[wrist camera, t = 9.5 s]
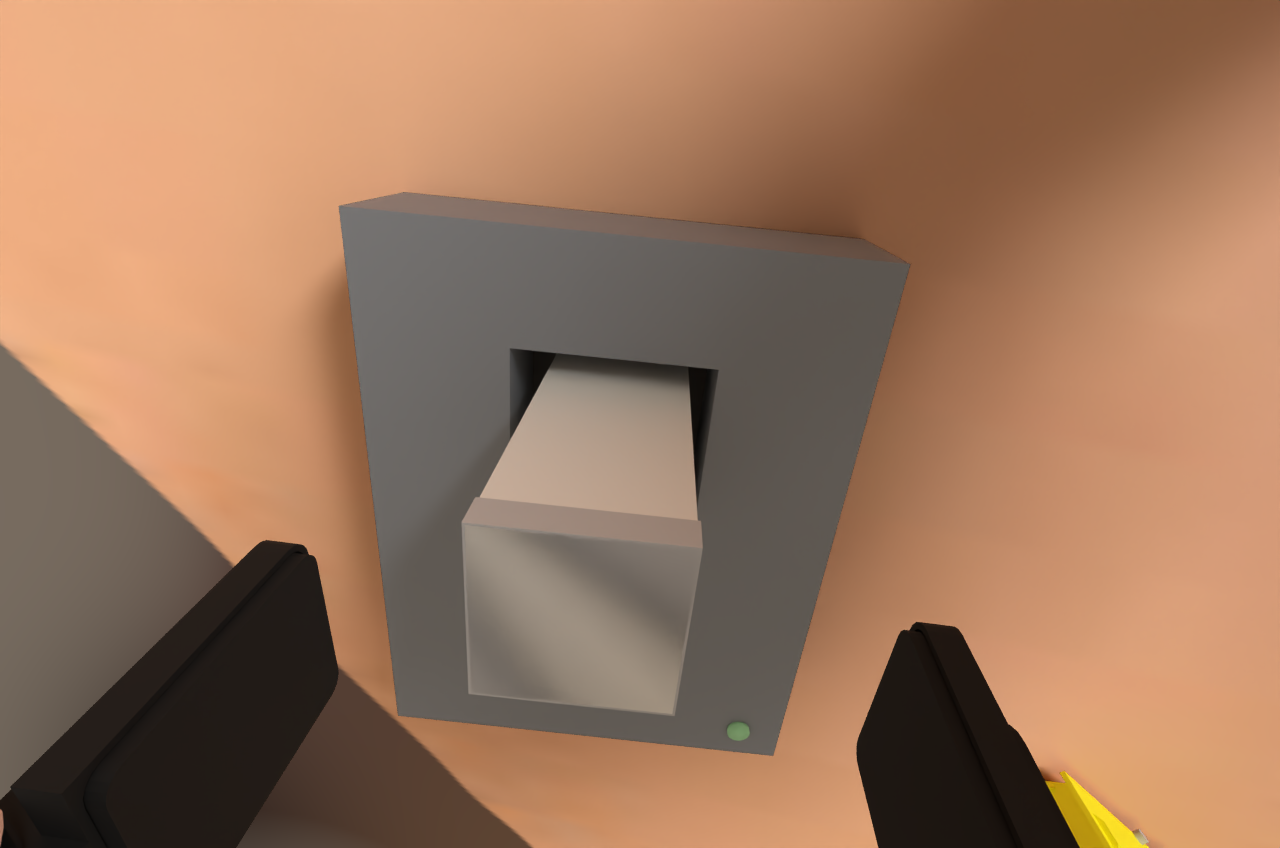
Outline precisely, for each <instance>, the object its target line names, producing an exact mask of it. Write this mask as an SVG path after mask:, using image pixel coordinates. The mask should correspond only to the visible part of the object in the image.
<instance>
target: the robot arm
mask: <svg viewBox="0 0 1280 848" xmlns="http://www.w3.org/2000/svg"><path fill="white" fill-rule="evenodd" d="M337 680H338V666H337V661H336V656H335V651H334V646H333V641H332V636H331V631H330V626H329V621H328V616H327V611H326V605H325V600H324V595H323V590H322V585H321V580H320V575H319V570H318V565H317V561H316V558H315V557H314V556H312V555H309V554H308V551H307V549H306V548H305V547H304V546H303V545H300V544H293V543H285V542H277V541H269V540H266V541H262V542H260V543H259V544H258V545H256V546H255V547H254V548H253V549H252V550H251V551H250V552H249V553H248V554H247V555H246V556H245V557H244V558H243V559H242V560H241V561H240V562H239V563H238V564H237V565H236V566H235V567H234V568H233V569H232V570H231V571H230V572H229V573H228V574H227V575H226V576H225V577H224V578H223V579H221V580H220V581H219V583H217V584H216V586H214V587H213V588H212V589H211V590H210V591H209V592H208V593H207V594H206V595H205V596H204V597H203V598H202V599H201V600H200V601H199V602H198V603H197V604H196V605H195V606H194V607H193V608H192V609H191V610H190V611H189V612H188V613H187V614H186V615H185V616H184V617H183V618H182V619H181V620H180V621H179V622H178V623H177V624H176V625H175V626H174V627H173V628H172V629H171V630H170V631H169V632H168V633H166V634H165V636H164V637H162V638H161V640H159V641H158V642H157V643H156V644H155V645H154V646H153V647H152V648H151V649H150V650H149V651H148V652H147V653H146V654H145V655H144V656H143V657H142V658H141V659H140V660H139V661H138V662H137V663H136V664H135V665H134V666H133V667H132V668H131V669H130V670H129V671H128V672H127V673H126V674H125V675H124V676H123V677H122V678H121V679H120V680H119V681H118V682H117V683H116V684H115V685H114V686H113V687H112V688H110V689H109V690H108V691H107V692H106V693H105V694H104V695H103V696H102V697H101V698H100V699H99V700H98V701H97V702H96V703H95V704H94V705H93V706H92V707H91V708H90V709H89V710H88V711H87V712H86V713H85V714H84V715H83V716H82V717H81V718H80V719H79V720H78V721H77V722H76V723H75V724H74V725H73V726H72V727H71V728H70V729H69V730H68V731H67V732H66V733H65V734H64V735H63V736H62V737H61V738H60V739H59V740H57V741H56V742H55V743H54V744H53V746H51V747H50V748H49V749H48V750H47V751H46V752H45V753H44V754H43V755H42V756H41V757H40V758H39V759H38V760H37V761H36V762H35V763H34V764H33V765H32V766H31V767H30V768H29V769H28V770H27V771H26V772H25V773H24V774H23V775H22V776H21V777H20V778H19V779H18V780H17V781H16V782H15V783H14V784H13V785H12V786H11V790H10V791H9V792H8V793H7V794H6V795H5V796H4V797H3V798H2V799H1V800H0V848H236V847H237V846H238V844H239V842H240V841H241V839H242V838H243V836H244V834H245V833H246V831H247V830H248V828H249V826H250V825H251V823H252V822H253V820H254V818H255V817H256V815H257V814H258V812H259V810H260V809H261V807H262V806H263V804H264V802H265V801H266V799H267V798H268V796H269V794H270V793H271V791H272V790H273V788H274V786H275V785H276V783H277V782H278V780H279V778H280V777H281V775H282V774H283V772H284V770H285V769H286V767H287V766H288V764H289V763H290V761H291V759H292V758H293V756H294V754H295V753H296V751H297V750H298V748H299V746H300V745H301V743H302V742H303V740H304V739H305V737H306V735H307V734H308V732H309V730H310V729H311V727H312V726H313V724H314V723H315V721H316V719H317V718H318V716H319V715H320V713H321V711H322V710H323V708H324V707H325V705H326V703H327V702H328V700H329V699H330V697H331V695H332V694H333V692H334V690H335V687H336V684H337ZM857 762H858V767H859V771H860V775H861V779H862V783H863V787H864V791H865V795H866V799H867V803H868V807H869V811H870V815H871V819H872V824H873V828H874V832H875V836H876V840H877V844H878V848H1080V847H1079V845H1078V843H1077V841H1076V839H1075V837H1074V835H1073V834H1072V832H1071V830H1070V828H1069V826H1068V824H1067V822H1066V820H1065V818H1064V816H1063V814H1062V813H1061V811H1060V809H1059V807H1058V805H1057V803H1056V801H1055V799H1054V797H1053V795H1052V793H1051V792H1050V790H1049V788H1048V786H1047V784H1046V782H1045V780H1044V778H1043V776H1042V774H1041V772H1040V770H1039V769H1038V767H1037V765H1036V763H1035V761H1034V759H1033V757H1032V755H1031V753H1030V751H1029V749H1028V748H1027V746H1026V744H1025V742H1024V741H1023V739H1022V738H1021V736H1020V735H1019V733H1018V732H1017V731H1016V730H1015V729H1014V728H1013V727H1012V726H1010V725H1008V723H1007V721H1006V719H1005V717H1004V715H1003V713H1002V711H1001V709H1000V708H999V706H998V704H997V702H996V700H995V698H994V696H993V694H992V692H991V690H990V688H989V686H988V684H987V682H986V680H985V678H984V676H983V674H982V672H981V670H980V668H979V666H978V664H977V663H976V661H975V659H974V657H973V655H972V653H971V651H970V649H969V647H968V645H967V643H966V641H965V639H964V637H963V635H962V634H961V632H960V631H959V629H957V628H956V627H953V626H945V625H937V624H929V623H922V622H916V623H914V624H913V625H912V627H911V629H910V631H908V630H902V631H901V632H900V634H899V636H898V638H897V641H896V643H895V646H894V648H893V651H892V653H891V656H890V659H889V661H888V664H887V666H886V669H885V671H884V674H883V676H882V679H881V682H880V684H879V687H878V689H877V692H876V694H875V697H874V699H873V702H872V704H871V707H870V710H869V712H868V715H867V717H866V720H865V722H864V725H863V727H862V730H861V732H860V735H859V738H858V741H857Z"/></svg>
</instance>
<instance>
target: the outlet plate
mask: <svg viewBox="0 0 1280 848" xmlns="http://www.w3.org/2000/svg"><path fill="white" fill-rule="evenodd" d="M339 212H340V221H341V229H342V238H343V246H344V255H345V264H346V272H347V281H348V289H349V298H350V307H351V315H352V324H353V332H354V341H355V350H356V358H357V367H358V375H359V384H360V393H361V401H362V410H363V418H364V427H365V436H366V444H367V453H368V461H369V470H370V479H371V487H372V496H373V505H374V513H375V522H376V530H377V539H378V548H379V556H380V565H381V573H382V582H383V591H384V599H385V608H386V616H387V625H388V634H389V642H390V651H391V659H392V668H393V677H394V685H395V694H396V702H397V711H398V716H406V717H416V718H425V719H434V720H444V721H453V722H462V723H472V724H481V725H490V726H500V727H509V728H518V729H528V730H537V731H546V732H555V733H565V734H574V735H583V736H593V737H602V738H611V739H621V740H630V741H639V742H649V743H658V744H667V745H677V746H686V747H695V748H705V749H714V750H723V751H733V752H742V753H751V754H761V755H770V756H773V755H774V751H775V748H776V744H777V740H778V737H779V733H780V730H781V726H782V722H783V719H784V715H785V712H786V708H787V705H788V701H789V697H790V694H791V690H792V687H793V683H794V679H795V676H796V672H797V669H798V665H799V662H800V658H801V654H802V651H803V647H804V644H805V640H806V636H807V633H808V629H809V626H810V622H811V619H812V615H813V611H814V608H815V604H816V601H817V597H818V593H819V590H820V586H821V583H822V579H823V576H824V572H825V568H826V565H827V561H828V558H829V554H830V550H831V547H832V543H833V540H834V536H835V533H836V529H837V525H838V522H839V518H840V515H841V511H842V507H843V504H844V500H845V497H846V493H847V490H848V486H849V482H850V479H851V475H852V472H853V468H854V464H855V461H856V457H857V454H858V450H859V447H860V443H861V439H862V436H863V432H864V429H865V425H866V421H867V418H868V414H869V411H870V407H871V404H872V400H873V396H874V393H875V389H876V386H877V382H878V378H879V375H880V371H881V368H882V364H883V361H884V357H885V353H886V350H887V346H888V343H889V339H890V335H891V332H892V328H893V325H894V321H895V318H896V314H897V310H898V307H899V303H900V300H901V296H902V292H903V289H904V285H905V282H906V278H907V275H908V271H909V267H910V264H909V263H907V262H905V261H903V260H902V259H900V258H898V257H896V256H894V255H892V254H890V253H889V252H887V251H885V250H883V249H881V248H879V247H877V246H876V245H874V244H872V243H870V242H868V241H866V240H865V239H858V238H848V237H838V236H828V235H819V234H809V233H799V232H789V231H779V230H769V229H760V228H750V227H740V226H730V225H720V224H711V223H701V222H691V221H681V220H671V219H662V218H652V217H642V216H632V215H622V214H613V213H603V212H593V211H583V210H573V209H564V208H554V207H544V206H534V205H524V204H514V203H505V202H495V201H485V200H475V199H465V198H456V197H446V196H436V195H426V194H416V193H407V192H403V193H398V194H394V195H389V196H384V197H379V198H374V199H369V200H365V201H360V202H355V203H350V204H345V205H340V206H339ZM557 353H561V354H571V355H580V356H590V357H600V358H609V359H619V360H629V361H638V362H648V363H658V364H667V365H677V366H687V367H688V374H689V390H690V406H691V422H692V438H693V454H694V470H695V486H696V502H697V518H698V521H701V529H702V543H703V550H702V556H701V562H700V568H699V574H698V580H697V586H696V592H695V598H694V604H693V610H692V616H691V621H690V627H689V633H688V639H687V645H686V651H685V657H684V663H683V669H682V675H681V681H680V687H679V693H678V698H677V704H676V710H675V716H669V715H659V714H650V713H641V712H632V711H622V710H613V709H604V708H595V707H585V706H576V705H567V704H558V703H548V702H539V701H530V700H520V699H511V698H502V697H493V696H483V695H474V694H469V693H468V669H467V644H466V620H465V596H464V572H463V547H462V523H461V522H462V520H463V519H464V517H465V515H466V513H467V511H468V510H469V508H470V506H471V504H472V502H473V500H474V499H475V497H480V495H481V494H482V492H483V490H484V488H485V486H486V484H487V482H488V481H489V479H490V477H491V475H492V473H493V471H494V469H495V468H496V466H497V464H498V462H499V460H500V458H501V456H502V454H503V453H504V451H505V449H506V447H507V445H508V443H509V441H510V440H511V438H512V436H513V434H514V432H515V430H516V428H517V427H518V425H519V423H520V421H521V419H522V417H523V415H524V414H525V412H526V410H527V408H528V406H529V404H530V402H531V401H532V399H533V397H534V395H535V393H536V391H537V389H538V388H539V386H540V384H541V382H542V380H543V378H544V376H545V375H546V373H547V371H548V369H549V367H550V365H551V363H552V362H553V360H554V358H555V356H556V354H557Z"/></svg>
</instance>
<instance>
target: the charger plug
mask: <svg viewBox="0 0 1280 848" xmlns="http://www.w3.org/2000/svg"><path fill="white" fill-rule="evenodd" d="M461 523H462V547H463V572H464V596H465V620H466V644H467V669H468V693H469V694H474V695H483V696H493V697H502V698H511V699H520V700H530V701H539V702H548V703H558V704H567V705H576V706H585V707H595V708H604V709H613V710H622V711H632V712H641V713H650V714H659V715H669V716H675V710H676V704H677V698H678V693H679V687H680V681H681V675H682V669H683V663H684V657H685V651H686V645H687V639H688V633H689V627H690V621H691V616H692V610H693V604H694V598H695V592H696V586H697V580H698V574H699V568H700V562H701V556H702V550H703V543H702V529H701V521H698V518H697V502H696V486H695V470H694V454H693V438H692V422H691V406H690V390H689V374H688V367H687V366H677V365H667V364H658V363H648V362H638V361H629V360H619V359H609V358H600V357H590V356H580V355H571V354H561V353H557V354H556V356H555V358H554V360H553V362H552V363H551V365H550V367H549V369H548V371H547V373H546V375H545V376H544V378H543V380H542V382H541V384H540V386H539V388H538V389H537V391H536V393H535V395H534V397H533V399H532V401H531V402H530V404H529V406H528V408H527V410H526V412H525V414H524V415H523V417H522V419H521V421H520V423H519V425H518V427H517V428H516V430H515V432H514V434H513V436H512V438H511V440H510V441H509V443H508V445H507V447H506V449H505V451H504V453H503V454H502V456H501V458H500V460H499V462H498V464H497V466H496V468H495V469H494V471H493V473H492V475H491V477H490V479H489V481H488V482H487V484H486V486H485V488H484V490H483V492H482V494H481V495H480V497H475V499H474V500H473V502H472V504H471V506H470V508H469V510H468V511H467V513H466V515H465V517H464V519H463V520H462V522H461Z"/></svg>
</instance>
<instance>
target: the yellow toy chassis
mask: <svg viewBox="0 0 1280 848" xmlns="http://www.w3.org/2000/svg"><path fill="white" fill-rule="evenodd" d="M1060 774H1061V776H1062V778H1063V779H1064V781H1065V783H1059V782H1051V781H1045V782H1046V784H1047V786H1048V788H1049V790H1050V792H1051V793H1052V795H1053V797H1054V799H1055V801H1056V803H1057V805H1058V807H1059V809H1060V811H1061V813H1062V814H1063V816H1064V818H1065V820H1066V822H1067V824H1068V826H1069V828H1070V830H1071V832H1072V834H1073V835H1074V837H1075V839H1076V841H1077V843H1078V845H1079V847H1080V848H1149V847H1148V846H1147V845H1145V844H1146V843H1148V842H1149V841H1148V840H1147V838H1146V837H1145V835H1144V834H1143V833H1142V831H1141V830H1140V829H1137V830H1135V831H1132V832H1131V831H1130V830H1129V829H1128V828H1127V827H1126V826H1124V825H1123V824H1122V823H1121V822H1120V821H1119V820H1118V819H1117V818H1116V817H1115V816H1113V815H1112V814H1111V813H1110V812H1109V811H1108V810H1107V809H1106V808H1105V807H1103V806H1102V805H1101V804H1100V803H1099V802H1098V801H1097V800H1096V799H1095V798H1094V797H1092V796H1091V795H1090V794H1089V793H1088V792H1087V791H1086V790H1085V789H1084V788H1083V787H1081V786H1080V785H1079V784H1078V783H1077V782H1076V781H1075V780H1074V779H1073V778H1071V777H1070V776H1069V775H1068V774H1067V773H1066V772H1065V771H1062V772H1060Z"/></svg>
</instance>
